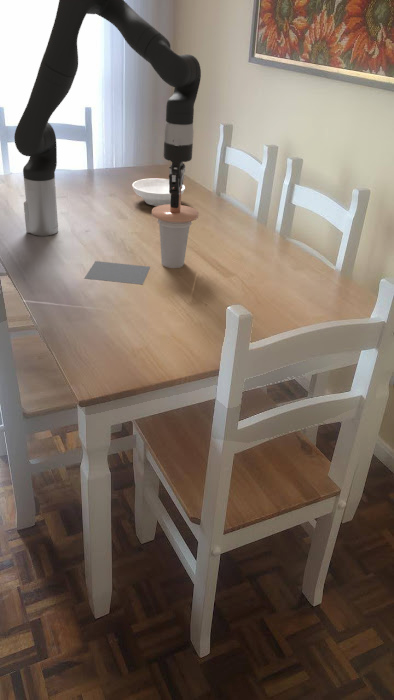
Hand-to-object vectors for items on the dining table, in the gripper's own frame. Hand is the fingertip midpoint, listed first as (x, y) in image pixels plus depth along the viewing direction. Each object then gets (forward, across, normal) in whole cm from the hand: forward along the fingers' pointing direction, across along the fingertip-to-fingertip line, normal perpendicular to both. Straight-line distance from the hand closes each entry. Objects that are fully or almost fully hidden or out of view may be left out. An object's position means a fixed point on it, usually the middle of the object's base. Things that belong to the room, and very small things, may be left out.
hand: (175, 205), depth 158 cm
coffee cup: (+18, 0, 0) cm, 18 cm away
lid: (+3, 0, 0) cm, 3 cm away
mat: (+18, +10, -14) cm, 25 cm away
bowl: (+18, -55, -13) cm, 59 cm away
